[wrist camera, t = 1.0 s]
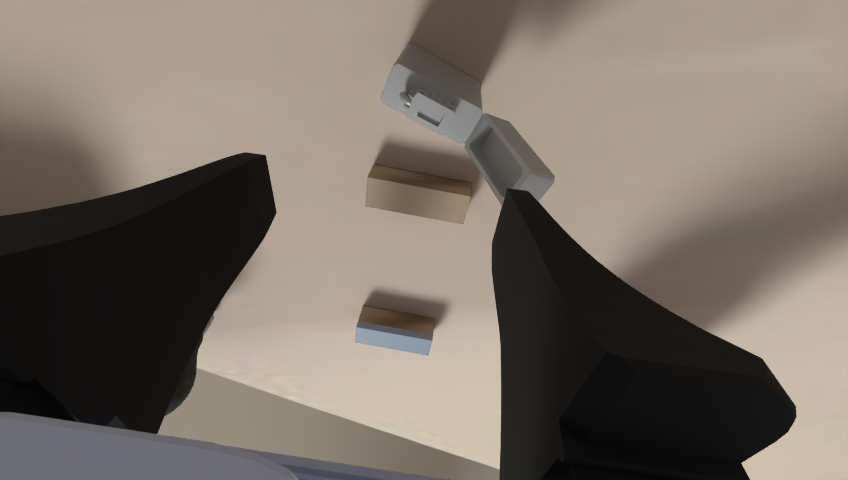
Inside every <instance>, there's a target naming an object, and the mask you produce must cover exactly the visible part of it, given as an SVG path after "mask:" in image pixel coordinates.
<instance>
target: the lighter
mask: <svg viewBox="0 0 848 480" xmlns="http://www.w3.org/2000/svg"><path fill="white" fill-rule="evenodd" d="M380 99H381V101H382V103H383V104H385V105H387V106H389V107H391V108H392V109H394V110H396V111H398V112H400V113H402V114H404V115H406V117H407V118H409V119H411V120H413V121H415V122H417V123H419V124H421V125H423V126H425V127H427V128H429V129H430V130H432V131H434V132H436V133H438V134H440V135H442V136H443V135H444V136H446V137H448V138H450V139H452V140H454V141H456V142H457V143H459V144H462V143H465V149H466V150H467V152H468V154H469V155H470V157H471V158H472V160H473V161H474V163H475V164H476V166H477V168H478V169H479V171H480V172H481V174H482V175H483V177H484V178H485V180H486V182H487V183H488V185H489V186H490V188H491V189H492V191H493V193H494V194H495V196H496V197H497V199H498V200H499V202H500V203H501V205H503V201H504V198H505V194H506V190H507V188H511V189H518V190H525V191H529V192H530V193H531V194H532V195H533V196H534V198H535V199H536V200H537V201H539V200H540V199H541V197H542V196H543V195H544V194H545V193H546V192H547V190H548V189H549V188H550V187H551V186H552V184H553V183H554V177H555V176H554V175H553V174H552V172H551V171H550V170H549V169H548V168H547V166H546V165H545V164H544V163H543V162H542V160H541V159H540V158H539V157H538V156H537V154H536V153H535V152H534V151H533V150H532V148H531V147H530V146H529V145H528V144H527V142H526V141H525V140H524V139H523V138H522V136H521V135H520V134H519V133H518V132H517V130H516V129H515V128H514V127H513V126H512V124H511V123H510V122H509V121H506V120H503V119H500V118H498V117H495V116H492V115H489V114H487V113H485V114H482V100H481V86H480V82H479V81H478V80H477V79H475V78H473V77H471V76H470V75H468V74H466V73H464V72H463V71H461V70H459V69H457V68H456V67H454V66H452V65H450V64H449V63H447V62H445V61H443V60H441V59H440V58H438V57H436V56H434V55H433V54H431V53H429V52H427V51H426V50H424V49H422V48H420V47H419V46H417V45H415V44H413V43H410V44H408V45H407V46H406V48H405V49H404V50H403V52H402V53H401V55H400V56H399V58H398V59H397V61H396V62H395V64H394V65H393V67H392V69H391V72H390V74H389V77H388V79H387V82H386V84H385V87H384V89H383V92H382V94H381V96H380Z"/></svg>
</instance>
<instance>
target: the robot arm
mask: <svg viewBox="0 0 848 480" xmlns="http://www.w3.org/2000/svg"><path fill="white" fill-rule="evenodd" d="M275 215H276V207H275V202H274V197H273V191H272V186H271V181H270V175H269V170H268V165H267V160H266V155H260V154H253V153H241V154H237V155H233V156H230V157H227V158H223V159H220V160H218V161H215V162H212V163H209V164H206V165H203V166H201V167H198V168H195V169H192V170H189V171H187V172H184V173H181V174H178V175H175V176H172V177H169V178H166V179H163V180H160V181H157V182H154V183H151V184H148V185H145V186H141V187H138V188H135V189H131V190H128V191H124V192H121V193H117V194H113V195H109V196H105V197H101V198H97V199H93V200H88V201H84V202H79V203H74V204H69V205H63V206H58V207H53V208H48V209H42V210H37V211H32V212H25V213H19V214H12V215H5V216H0V480H449V479H442V478H435V477H428V476H422V475H415V474H409V473H402V472H396V471H389V470H382V469H376V468H369V467H363V466H356V465H349V464H343V463H336V462H330V461H323V460H316V459H310V458H303V457H296V456H290V455H283V454H277V453H270V452H263V451H257V450H250V449H244V448H237V447H230V446H224V445H220V444H216V443H212V442H206V441H199V440H192V439H186V438H179V437H173V436H165V435H159V434H157V433H158V430H159V428H160V426H161V423H162V421H163V418H164V416H165V413H166V411H167V409H168V406H169V404H170V401H171V399H172V397H173V394H174V392H175V390H176V388H177V386H178V383H179V381H180V379H181V377H182V375H183V372H184V370H185V368H186V366H187V364H188V361H189V359H190V357H191V355H192V353H193V351H194V349H195V347H196V345H197V343H198V341H199V339H200V337H201V335H202V333H203V332H204V330H205V328H206V326H207V324H208V322H209V321H210V319H211V317H212V315H213V313H214V311H215V310H216V308H217V306H218V304H219V303H220V301H221V300H222V298H223V296H224V295H225V293H226V292H227V290H228V289H229V288H230V286H231V285H232V283H233V282H234V281H235V279H236V278H237V276H238V275H239V273H240V272H241V271H242V269H243V268H244V266H245V265H246V264H247V262H248V261H249V259H250V258H251V257H252V255H253V254H254V252H255V251H256V249H257V248H258V246H259V245H260V243H261V242H262V240H263V239H264V237H265V235H266V233H267V231H268V230H269V228H270V225H271V223H272V221H273V219H274V217H275ZM492 276H493V284H494V292H495V300H496V308H497V315H498V323H499V331H500V343H501V453H500V480H750V479H749V477H748V475H747V473H746V471H745V470H744V468H743V466H742V464H741V463H742V462H743V461H745V460H747V459H748V458H750V457H752V456H753V455H755V454H756V453H758V452H760V451H761V450H763V449H764V448H766V447H768V446H769V445H771V444H772V443H774V442H776V441H777V440H778V439H780V438H781V437H782V436H783V435H785V434H786V433H787V432H788V431H789V429H790V428H791V426H792V424H793V422H794V421H795V419H796V406H795V404H794V403H793V402H792V400H791V399H790V397H789V396H788V395H787V393H786V392H785V390H784V389H783V387H782V386H781V385H780V383H779V382H778V380H777V379H776V378H775V376H774V375H773V373H772V372H771V370H770V369H769V368H768V366H767V365H766V363H765V362H764V361H763V359H762V358H760V357H758V356H756V355H754V354H752V353H750V352H748V351H746V350H744V349H742V348H740V347H738V346H735V345H733V344H731V343H729V342H727V341H725V340H723V339H721V338H719V337H717V336H715V335H713V334H711V333H709V332H707V331H705V330H703V329H701V328H699V327H697V326H695V325H694V324H692V323H690V322H688V321H687V320H685V319H683V318H681V317H679V316H678V315H676V314H674V313H672V312H670V311H669V310H667V309H666V308H664V307H662V306H661V305H659V304H657V303H656V302H654V301H652V300H651V299H649V298H648V297H646V296H645V295H643V294H642V293H640V292H639V291H637V290H636V289H634V288H633V287H631V286H630V285H628V284H627V283H625V282H624V281H623V280H621V279H620V278H618V277H617V276H616V275H614V274H613V273H612V272H611V271H609V270H608V269H607V268H605V267H604V266H603V265H602V264H600V263H599V262H598V261H597V260H595V259H594V258H593V257H592V256H591V255H590V254H588V253H587V252H586V251H585V250H584V249H583V248H582V247H581V246H580V245H579V244H578V243H577V242H576V241H574V240H573V239H572V238H571V237H570V236H569V235H568V234H567V233H566V232H565V231H564V230H563V229H562V227H561V226H560V225H559V224H558V223H557V222H556V221H555V220H554V219H553V218H552V217H551V216H550V214H549V213H548V212H547V211H546V210H545V209H544V208H543V207H542V205H541V204H540V203H539V202H538V201H537V200H536V199H535V198H534V196H533V195H532V194H531V193H530V192H529V191H525V190H518V189H511V188H507V190H506V194H505V198H504V201H503V205H502V209H501V212H500V216H499V219H498V223H497V227H496V230H495V234H494V238H493V241H492Z"/></svg>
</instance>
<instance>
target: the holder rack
mask: <svg viewBox="0 0 848 480" xmlns="http://www.w3.org/2000/svg"><path fill="white" fill-rule="evenodd" d="M470 198H471V183H469V182H464V181H458V180H453V179H448V178H442V177H437V176H432V175H426V174H421V173H416V172H410V171H405V170H400V169H394V168H389V167H384V166H379V165H373V166H372V169H371V171H370V173H369V175H368V177H367V192H366V206H367V207H372V208H377V209H383V210H388V211H394V212H399V213H404V214H410V215H415V216H420V217H426V218H431V219H437V220H442V221H447V222H453V223H458V224H464V220H465V217H466V213H467V209H468V206H469V202H470ZM433 328H434V319H433V318H427V317H422V316H416V315H411V314H405V313H400V312H394V311H389V310H383V309H378V308H372V307H367V306H363V307H362V311H361V314H360V317H359V320H358V324H357V327H356V343H361V344H367V345H373V346H378V347H384V348H389V349H395V350H400V351H406V352H412V353H417V354H423V355H428V354H429V351H430V347H431V343H432V338H433Z"/></svg>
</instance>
